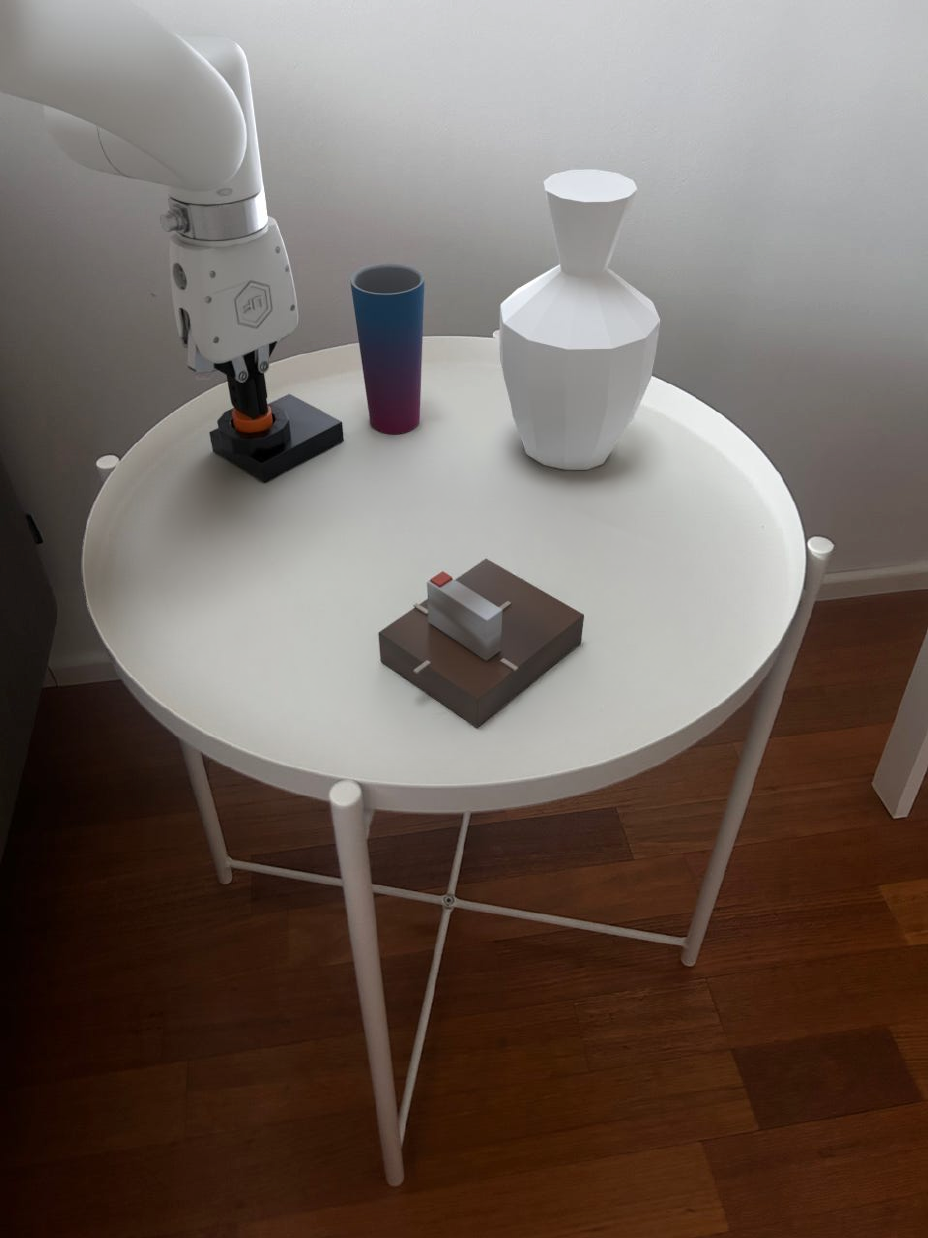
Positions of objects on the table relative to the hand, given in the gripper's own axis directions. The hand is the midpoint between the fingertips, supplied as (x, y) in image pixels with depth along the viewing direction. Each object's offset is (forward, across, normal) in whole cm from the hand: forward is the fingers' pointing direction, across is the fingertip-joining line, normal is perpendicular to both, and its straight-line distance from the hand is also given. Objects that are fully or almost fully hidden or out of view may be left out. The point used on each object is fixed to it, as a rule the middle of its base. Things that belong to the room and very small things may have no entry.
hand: (251, 410), depth 94 cm
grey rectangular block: (+2, -7, -34) cm, 35 cm away
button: (+2, 0, 0) cm, 2 cm away
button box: (+5, +3, 0) cm, 6 cm away
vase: (+5, +22, -21) cm, 31 cm away
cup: (+5, +14, -5) cm, 15 cm away
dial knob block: (+5, -5, -34) cm, 35 cm away
